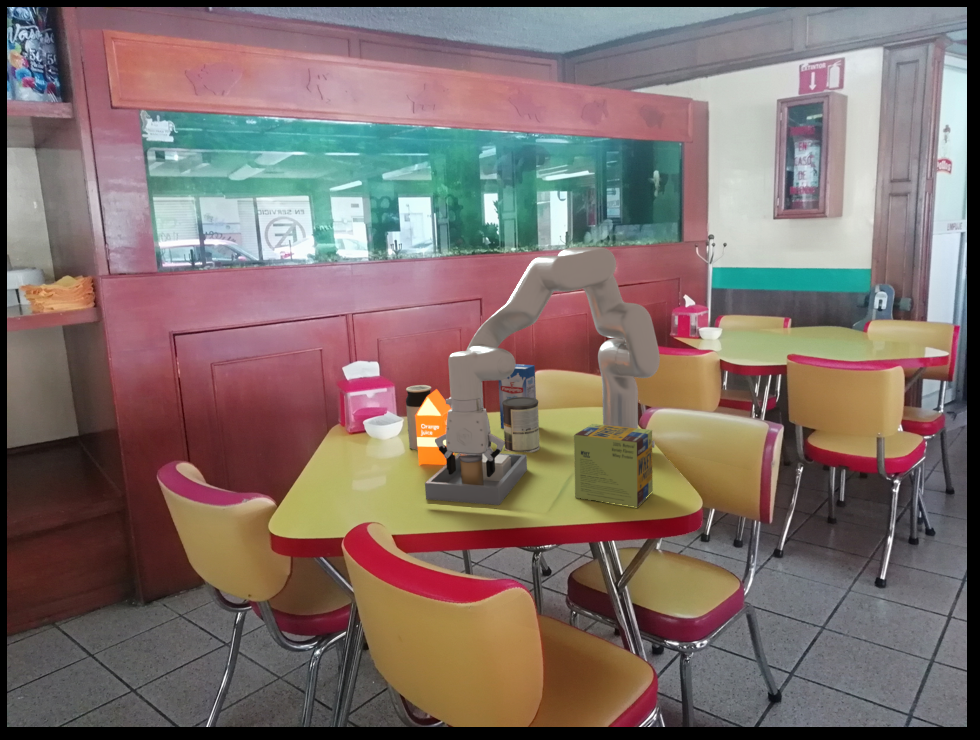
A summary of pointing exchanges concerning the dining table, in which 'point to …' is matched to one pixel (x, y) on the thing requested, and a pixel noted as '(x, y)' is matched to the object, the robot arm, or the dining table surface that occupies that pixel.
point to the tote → (489, 493)
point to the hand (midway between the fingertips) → (471, 473)
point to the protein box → (613, 464)
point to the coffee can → (521, 424)
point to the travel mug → (415, 409)
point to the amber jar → (472, 469)
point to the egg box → (497, 467)
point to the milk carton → (517, 385)
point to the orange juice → (431, 428)
